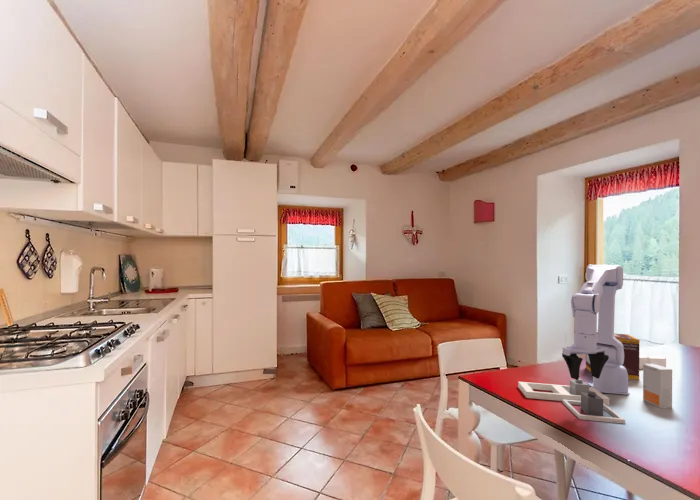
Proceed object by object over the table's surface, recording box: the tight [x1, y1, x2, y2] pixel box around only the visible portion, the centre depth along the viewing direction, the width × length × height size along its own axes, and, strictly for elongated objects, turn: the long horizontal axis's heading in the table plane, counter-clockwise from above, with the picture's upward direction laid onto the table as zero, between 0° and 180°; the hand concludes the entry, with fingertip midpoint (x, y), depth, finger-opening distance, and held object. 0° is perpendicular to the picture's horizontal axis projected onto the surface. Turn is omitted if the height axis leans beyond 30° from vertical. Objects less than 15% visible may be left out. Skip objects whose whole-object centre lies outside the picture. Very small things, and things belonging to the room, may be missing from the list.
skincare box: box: [642, 364, 673, 409], centre depth 111 cm, size 6×4×12 cm
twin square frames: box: [517, 381, 610, 406], centre depth 116 cm, size 24×10×2 cm, turn 79°
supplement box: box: [585, 331, 640, 381], centre depth 141 cm, size 10×15×16 cm
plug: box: [580, 391, 604, 417], centre depth 103 cm, size 4×4×6 cm
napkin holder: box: [639, 355, 667, 370], centre depth 149 cm, size 15×11×6 cm
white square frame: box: [562, 399, 626, 424], centre depth 103 cm, size 12×12×1 cm
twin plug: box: [569, 377, 590, 395], centre depth 115 cm, size 4×4×6 cm
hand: (585, 378), depth 105 cm, fingers open, 7 cm apart
